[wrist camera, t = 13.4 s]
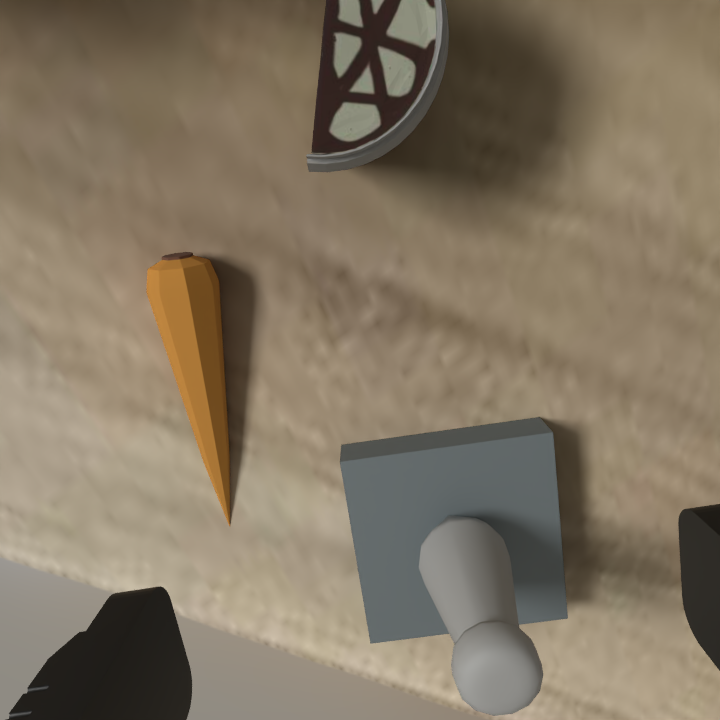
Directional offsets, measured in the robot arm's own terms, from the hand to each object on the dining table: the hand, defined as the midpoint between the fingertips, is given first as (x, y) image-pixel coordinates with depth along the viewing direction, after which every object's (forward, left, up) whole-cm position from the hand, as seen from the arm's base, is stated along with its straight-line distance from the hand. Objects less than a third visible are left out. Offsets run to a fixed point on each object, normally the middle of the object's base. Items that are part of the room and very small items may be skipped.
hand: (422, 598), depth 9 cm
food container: (-2, -14, -32) cm, 35 cm away
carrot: (+13, +5, -32) cm, 35 cm away
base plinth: (-3, +16, -31) cm, 35 cm away
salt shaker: (-3, +16, -29) cm, 33 cm away
